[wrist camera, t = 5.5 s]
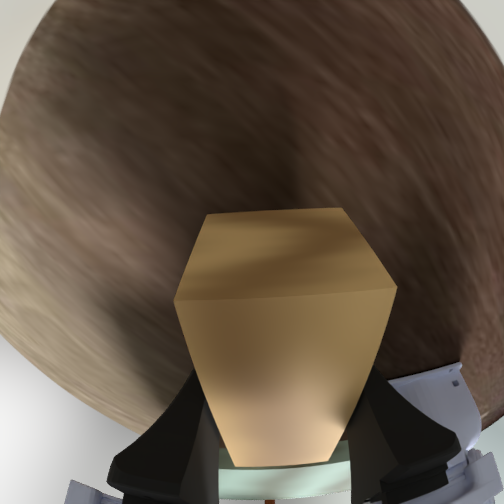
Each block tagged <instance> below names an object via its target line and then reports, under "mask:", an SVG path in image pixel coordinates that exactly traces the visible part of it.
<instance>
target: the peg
mask: <svg viewBox="0 0 504 504" xmlns="http://www.w3.org/2000/svg"><path fill="white" fill-rule="evenodd" d="M396 290H397V286H396V284H395V283H394V281H393V280H392V278H391V277H390V275H389V274H388V272H387V271H386V269H385V268H384V266H383V265H382V263H381V262H380V260H379V259H378V257H377V256H376V254H375V253H374V251H373V250H372V248H371V247H370V246H369V244H368V243H367V241H366V240H365V239H364V237H363V236H362V234H361V233H360V232H359V230H358V229H357V227H356V226H355V225H354V223H353V222H352V221H351V219H350V218H349V217H348V215H347V214H346V213H345V211H344V210H343V209H342V208H313V209H289V210H268V211H250V212H234V213H220V214H207V216H206V218H205V221H204V223H203V225H202V228H201V230H200V233H199V235H198V238H197V240H196V243H195V245H194V248H193V250H192V253H191V255H190V258H189V260H188V263H187V266H186V268H185V271H184V273H183V276H182V279H181V281H180V284H179V287H178V289H177V292H176V295H175V297H174V300H173V301H174V305H175V308H176V311H177V315H178V318H179V321H180V325H181V328H182V331H183V334H184V337H185V340H186V343H187V346H188V349H189V352H190V355H191V358H192V361H193V364H194V367H195V370H196V373H197V375H198V378H199V381H200V384H201V386H202V389H203V392H204V394H205V397H206V399H207V402H208V405H209V407H210V410H211V412H212V415H213V417H214V420H215V422H216V424H217V427H218V429H219V431H220V434H221V436H222V438H223V441H224V443H225V445H226V448H227V450H228V452H229V454H230V456H231V459H232V461H233V463H234V465H235V467H263V466H285V465H298V464H308V463H316V462H324V461H328V460H329V458H330V456H331V455H332V453H333V451H334V449H335V447H336V445H337V443H338V442H339V440H340V438H341V436H342V434H343V432H344V430H345V428H346V426H347V424H348V422H349V420H350V417H351V415H352V413H353V411H354V409H355V407H356V404H357V402H358V400H359V398H360V395H361V393H362V391H363V388H364V386H365V383H366V381H367V378H368V376H369V373H370V371H371V368H372V365H373V363H374V360H375V357H376V355H377V352H378V349H379V346H380V343H381V340H382V337H383V334H384V331H385V328H386V325H387V322H388V319H389V315H390V312H391V308H392V305H393V301H394V298H395V294H396Z"/></svg>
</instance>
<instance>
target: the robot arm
mask: <svg viewBox="0 0 504 504" xmlns="http://www.w3.org/2000/svg"><path fill="white" fill-rule="evenodd" d="M461 367H462V364H461V362H458V363H454V364H451V365H448V366H445V367H441V368H438V369H434V370H431V371H427V372H423V373H419V374H415V375H411V376H407V377H402V378H398V379H393V380H389V381H387V380H386V379H385V378H384V376H383V375H382V374H381V373H380V372H379V371H378V369H377V368H376V367H375V366H374V364H373V365H372V368H371V371H370V373H369V376H368V378H367V381H366V383H365V386H364V388H363V391H362V393H361V395H360V398H359V400H358V402H357V404H356V407H355V409H354V411H353V413H352V415H351V417H350V420H349V422H348V424H347V426H346V431H347V438H348V446H349V457H350V471H351V504H495V500H494V496H495V495H497V494H498V493H500V492H501V491H502V490H503V485H502V482H501V478H500V475H499V472H498V469H497V465H496V463H495V460H494V456H493V453H492V452H489V453H487V454H486V455H484V456H483V455H482V453H481V451H480V450H475V449H474V448H473V449H471V448H472V447H473V446H474V445H475V443H476V442H477V440H478V439H479V436H480V433H481V417H480V413H479V411H478V408H477V406H476V404H475V402H474V399H473V397H472V395H471V393H470V391H469V389H468V387H467V385H466V383H465V381H464V379H463V377H462V375H461V373H460V371H459V370H460V368H461ZM219 440H220V431H219V429H218V427H217V424H216V422H215V420H214V417H213V415H212V412H211V410H210V407H209V405H208V402H207V399H206V397H205V394H204V392H203V389H202V386H201V384H200V381H199V378H198V375H197V373H196V370H195V367H194V369H193V371H192V372H191V374H190V376H189V378H188V379H187V381H186V383H185V384H184V386H183V387H182V389H181V390H180V392H179V393H178V395H177V396H176V397H175V399H174V400H173V402H172V403H171V404H170V405H169V407H168V408H167V409H166V410H165V412H164V413H163V414H162V415H161V416H160V417H159V418H158V420H157V421H156V422H155V423H154V424H153V425H152V426H151V427H150V428H149V429H148V430H147V431H146V432H145V433H144V434H142V435H141V436H140V437H139V438H138V439H137V440H136V441H135V442H134V443H132V444H131V445H130V446H128V447H127V448H126V449H124V450H123V451H122V452H120V453H119V454H117V455H116V456H115V457H114V459H113V461H112V464H111V466H110V469H109V473H108V477H107V483H108V484H109V485H110V486H111V487H114V488H115V489H117V490H119V491H121V492H123V493H124V496H123V499H120V498H116V497H113V496H110V495H107V494H104V493H102V492H100V491H99V490H97V489H94V488H92V487H89V486H87V485H84V484H82V483H79V482H77V481H74V480H71V481H70V484H69V488H68V491H67V495H66V499H65V503H64V504H219ZM469 449H471V450H469ZM468 450H469V451H468Z"/></svg>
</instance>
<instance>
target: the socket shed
mask: <svg viewBox="0 0 504 504" xmlns="http://www.w3.org/2000/svg"><path fill="white" fill-rule="evenodd" d="M349 490H351V471H350V457H349V446H348V438H347V431H346V428H345V430H344V432H343V434H342V436H341V438H340V440H339V442H338V443H337V445H336V447H335V449H334V451H333V453H332V455H331V456H330V458H329V460H328V461H324V462H316V463H308V464H298V465H285V466H263V467H235V465H234V463H233V461H232V459H231V456H230V454H229V452H228V450H227V448H226V445H225V443H224V441H223V438H222V436H221V434H220V440H219V499H232V500H274V499H291V498H302V497H311V496H319V495H327V494H333V493H339V492H344V491H349Z"/></svg>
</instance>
